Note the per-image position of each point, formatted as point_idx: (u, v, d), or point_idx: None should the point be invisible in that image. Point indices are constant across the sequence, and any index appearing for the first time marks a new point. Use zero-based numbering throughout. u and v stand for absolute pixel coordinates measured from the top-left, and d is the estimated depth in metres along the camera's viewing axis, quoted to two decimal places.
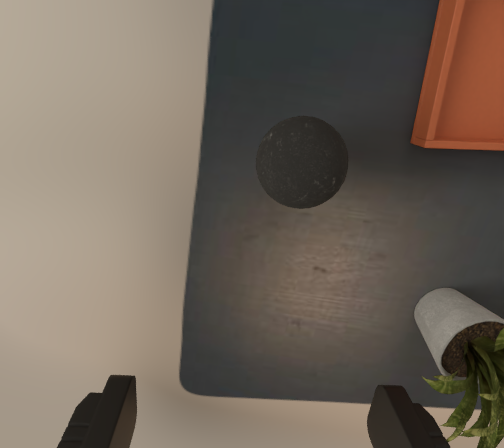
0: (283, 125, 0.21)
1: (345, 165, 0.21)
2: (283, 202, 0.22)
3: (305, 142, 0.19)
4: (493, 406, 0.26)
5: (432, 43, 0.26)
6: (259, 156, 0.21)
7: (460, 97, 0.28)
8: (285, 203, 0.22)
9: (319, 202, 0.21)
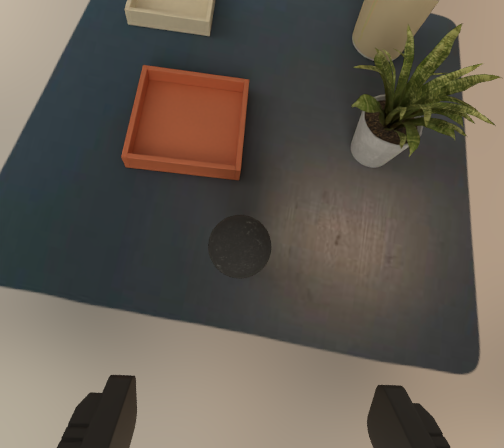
0: (212, 257, 0.31)
1: (240, 216, 0.31)
2: (264, 257, 0.30)
3: (222, 240, 0.30)
4: None
5: (176, 172, 0.42)
6: (232, 273, 0.30)
7: (210, 152, 0.43)
8: (265, 255, 0.30)
9: (264, 232, 0.31)
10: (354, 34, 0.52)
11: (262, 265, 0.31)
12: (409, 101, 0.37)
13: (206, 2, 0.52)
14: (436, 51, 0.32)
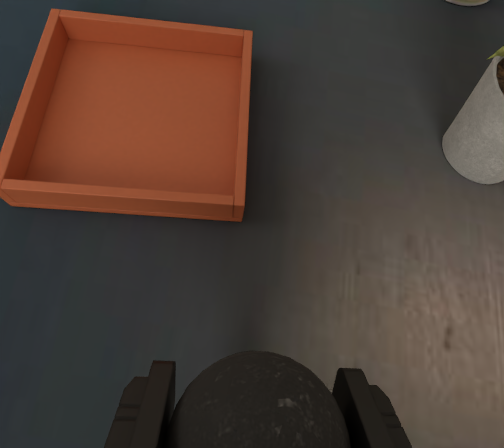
0: None
1: (255, 369, 0.10)
2: None
3: None
4: None
5: (115, 211, 0.21)
6: None
7: (183, 169, 0.22)
8: None
9: (336, 423, 0.10)
10: None
11: None
12: None
13: None
14: None
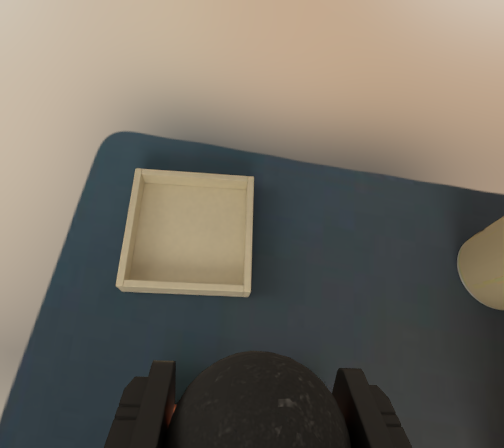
0: None
1: (255, 369, 0.10)
2: None
3: None
4: None
5: None
6: None
7: None
8: None
9: (336, 423, 0.10)
10: (464, 271, 0.34)
11: None
12: None
13: (238, 233, 0.34)
14: None
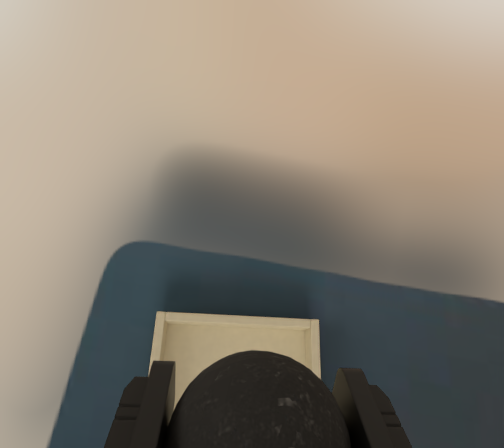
0: None
1: (255, 368, 0.10)
2: None
3: None
4: None
5: None
6: None
7: None
8: None
9: (335, 422, 0.10)
10: None
11: None
12: None
13: None
14: None
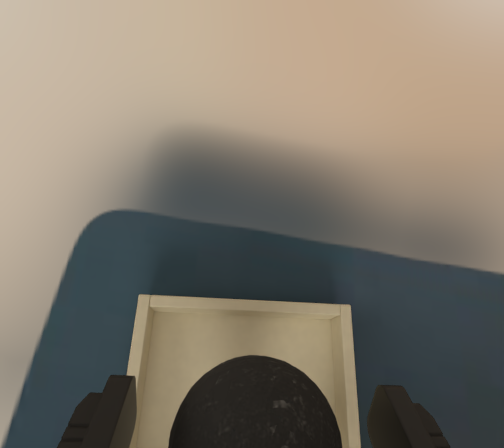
0: None
1: (252, 373, 0.11)
2: None
3: None
4: None
5: None
6: None
7: None
8: None
9: (327, 423, 0.11)
10: None
11: None
12: None
13: None
14: None
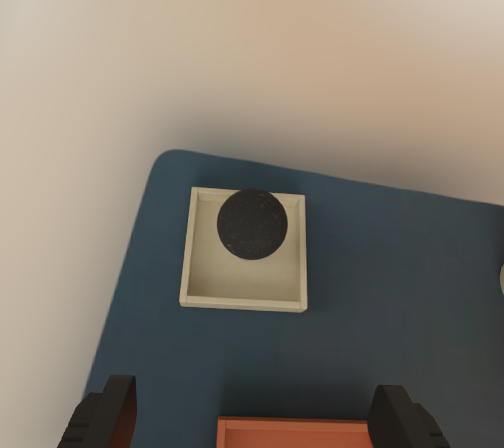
0: (221, 236, 0.27)
1: (251, 189, 0.28)
2: (281, 233, 0.27)
3: (232, 215, 0.26)
4: None
5: None
6: (245, 253, 0.27)
7: None
8: (282, 231, 0.27)
9: (280, 205, 0.27)
10: None
11: (279, 243, 0.27)
12: None
13: (290, 250, 0.35)
14: None
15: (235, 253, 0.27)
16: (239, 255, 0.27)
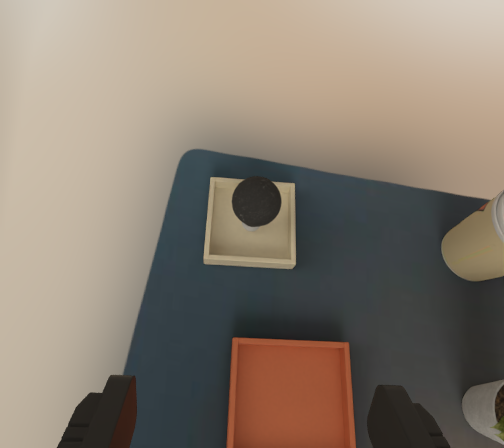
0: (235, 208, 0.39)
1: (256, 176, 0.40)
2: (277, 206, 0.39)
3: (243, 194, 0.38)
4: None
5: None
6: (252, 220, 0.39)
7: (315, 442, 0.38)
8: (277, 205, 0.39)
9: (276, 188, 0.39)
10: (446, 252, 0.47)
11: (275, 214, 0.39)
12: None
13: (284, 224, 0.47)
14: None
15: (245, 221, 0.39)
16: (247, 222, 0.39)
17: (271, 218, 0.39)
